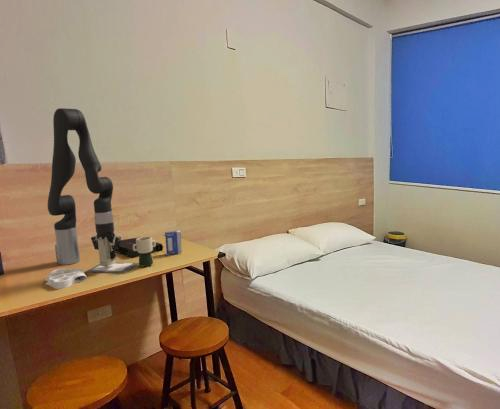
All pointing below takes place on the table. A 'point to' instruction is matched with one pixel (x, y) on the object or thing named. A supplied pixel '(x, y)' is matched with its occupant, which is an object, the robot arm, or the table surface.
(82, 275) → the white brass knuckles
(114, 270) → the notepad
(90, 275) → the table surface
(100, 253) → the skincare box
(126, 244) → the diary
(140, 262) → the character mug
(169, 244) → the walkman
